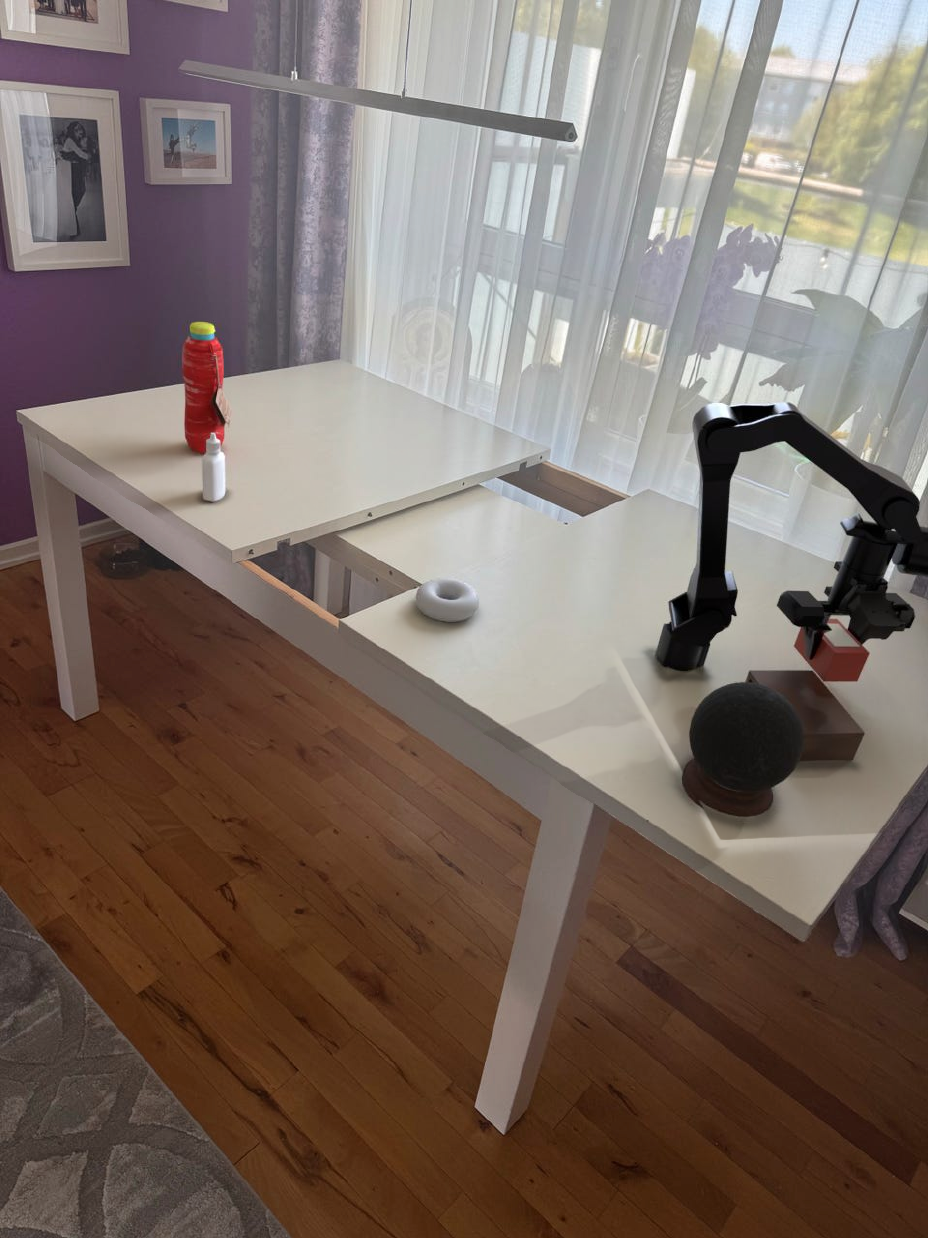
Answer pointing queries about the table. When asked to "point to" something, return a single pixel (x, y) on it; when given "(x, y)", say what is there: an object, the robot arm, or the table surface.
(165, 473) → the table surface
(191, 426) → the water bottle
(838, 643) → the carton
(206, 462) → the eye dropper bottle
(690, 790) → the sphere on wooden stand
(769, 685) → the block
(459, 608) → the donut
